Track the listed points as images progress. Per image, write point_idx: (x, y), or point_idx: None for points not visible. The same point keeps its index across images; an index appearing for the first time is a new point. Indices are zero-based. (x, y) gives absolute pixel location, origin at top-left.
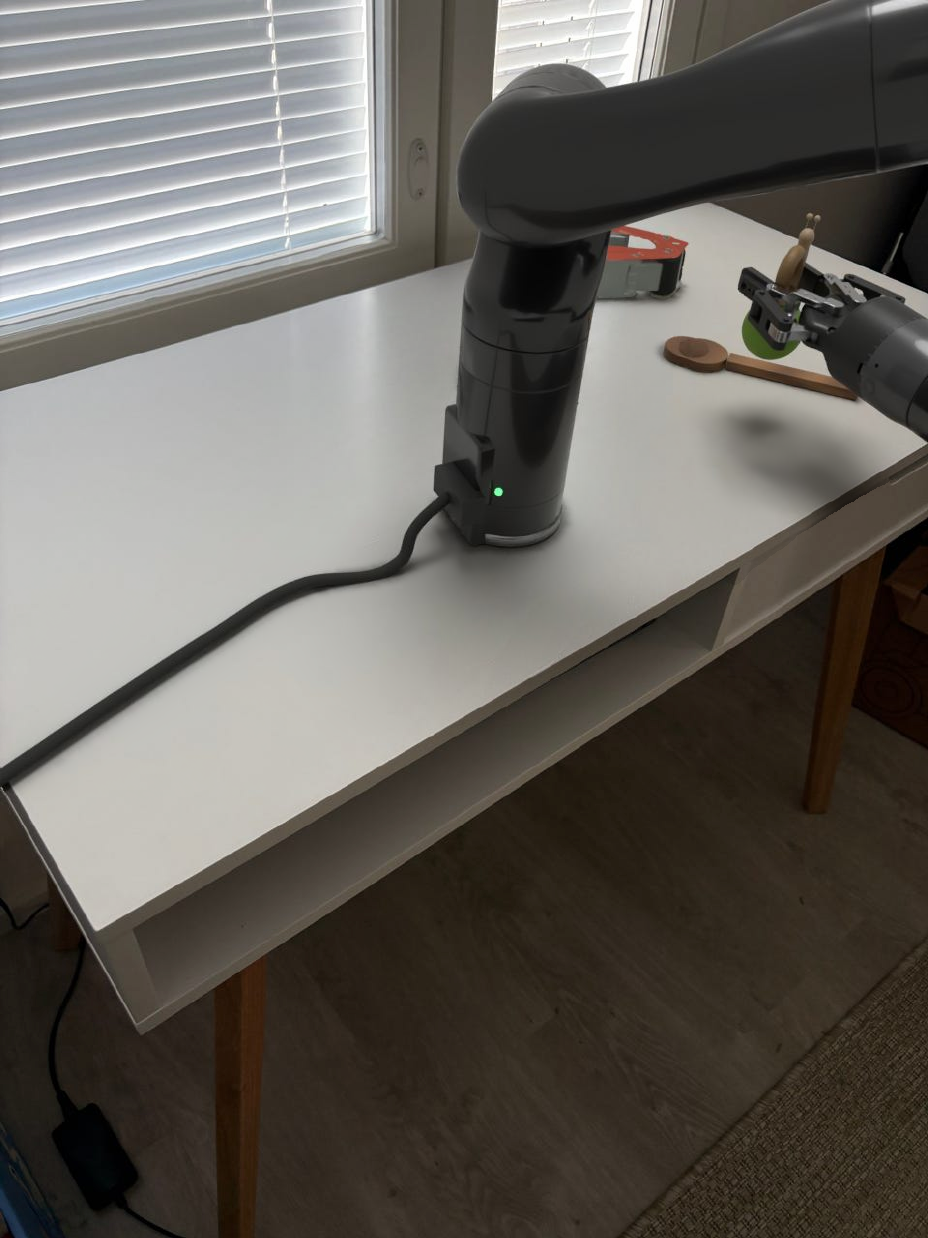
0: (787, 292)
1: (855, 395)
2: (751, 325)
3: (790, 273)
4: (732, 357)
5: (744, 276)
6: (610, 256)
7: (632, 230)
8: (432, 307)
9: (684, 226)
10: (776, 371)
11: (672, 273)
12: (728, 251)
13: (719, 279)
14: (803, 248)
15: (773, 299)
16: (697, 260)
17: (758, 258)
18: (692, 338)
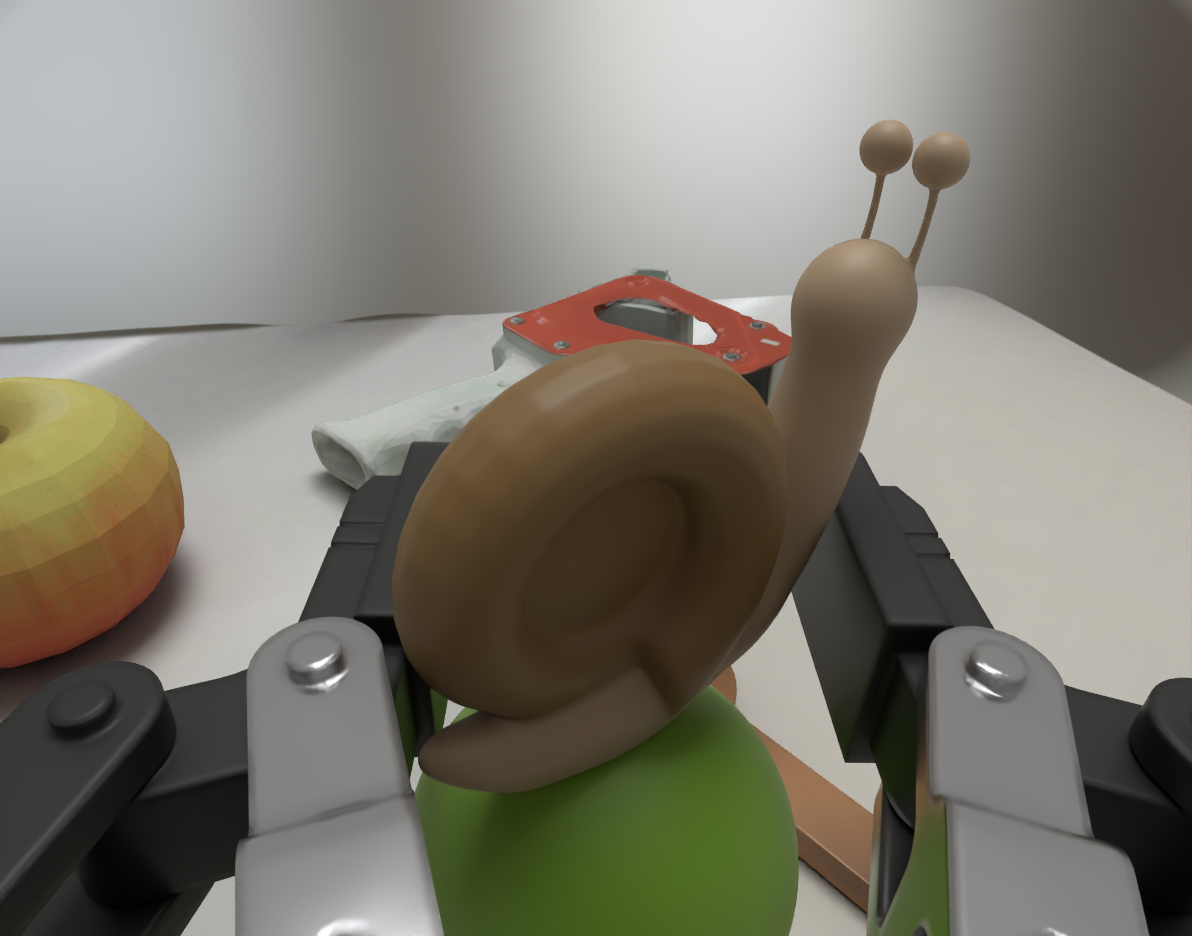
0: (333, 782)
1: None
2: None
3: (443, 590)
4: None
5: (360, 498)
6: (577, 346)
7: (688, 300)
8: (190, 390)
9: (915, 329)
10: (863, 875)
11: None
12: (986, 392)
13: (914, 452)
14: (688, 378)
15: (15, 862)
16: (890, 399)
17: (1058, 421)
18: None
